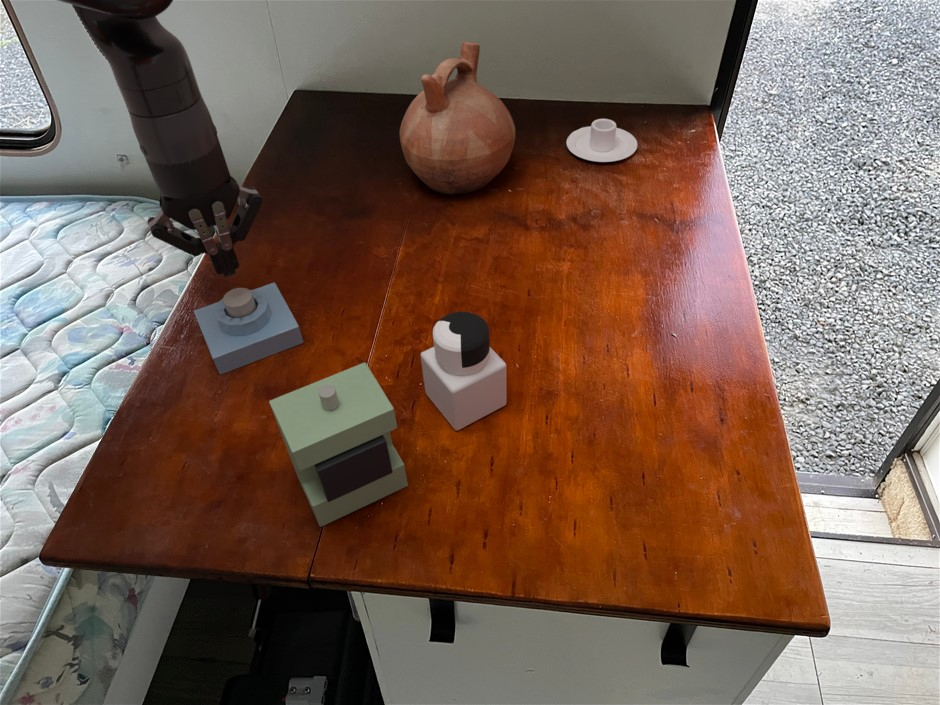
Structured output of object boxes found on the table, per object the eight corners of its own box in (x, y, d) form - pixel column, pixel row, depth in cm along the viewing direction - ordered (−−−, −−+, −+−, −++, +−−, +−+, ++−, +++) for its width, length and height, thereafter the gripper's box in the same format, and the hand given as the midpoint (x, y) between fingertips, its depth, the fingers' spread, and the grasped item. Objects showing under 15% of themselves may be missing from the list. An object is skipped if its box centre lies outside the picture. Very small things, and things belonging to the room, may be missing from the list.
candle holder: (564, 130, 126) (565, 107, 123) (632, 128, 125) (635, 105, 122) (568, 166, 118) (569, 142, 115) (641, 165, 117) (644, 141, 114)
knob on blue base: (219, 375, 88) (207, 347, 84) (200, 327, 94) (188, 299, 91) (303, 342, 91) (295, 314, 88) (279, 298, 98) (271, 270, 94)
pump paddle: (328, 502, 70) (317, 471, 66) (324, 495, 70) (313, 463, 66) (393, 472, 72) (386, 440, 68) (389, 465, 72) (382, 433, 68)
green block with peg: (320, 527, 73) (287, 439, 62) (297, 477, 77) (263, 386, 66) (408, 486, 76) (391, 394, 65) (382, 440, 80) (362, 347, 69)
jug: (477, 220, 108) (472, 95, 94) (382, 189, 115) (364, 68, 101) (534, 163, 119) (537, 43, 105) (444, 137, 126) (435, 22, 112)
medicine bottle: (474, 368, 87) (470, 295, 78) (507, 405, 83) (507, 332, 74) (424, 393, 85) (414, 320, 76) (455, 433, 80) (449, 360, 72)
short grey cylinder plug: (231, 322, 88) (227, 310, 86) (224, 305, 90) (219, 293, 89) (259, 312, 89) (255, 300, 87) (251, 296, 91) (247, 283, 90)
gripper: (233, 109, 77) (271, 238, 90) (107, 144, 73) (166, 273, 86) (252, 139, 72) (290, 270, 85) (120, 178, 68) (180, 309, 81)
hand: (228, 272), depth 85 cm, fingers closed
